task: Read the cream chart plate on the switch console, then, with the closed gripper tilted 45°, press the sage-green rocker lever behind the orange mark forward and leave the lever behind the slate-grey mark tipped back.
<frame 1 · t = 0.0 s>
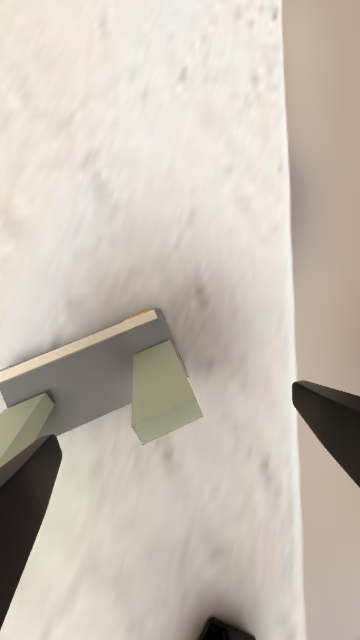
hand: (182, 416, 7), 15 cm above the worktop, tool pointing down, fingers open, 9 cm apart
switch console: (101, 371, 22), on the worktop
flip switch: (159, 378, 16), point 7 cm above the worktop, hinge at -20.0°
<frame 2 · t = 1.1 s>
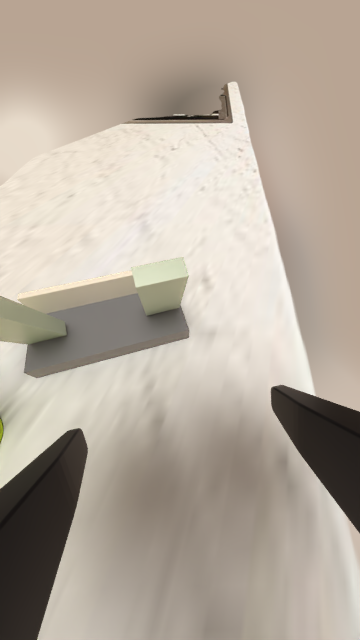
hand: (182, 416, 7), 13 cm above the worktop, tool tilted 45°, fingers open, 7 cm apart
switch console: (113, 327, 25), on the worktop
flip switch: (160, 292, 19), point 7 cm above the worktop, hinge at -20.0°
hold switch: (17, 325, 17), point 7 cm above the worktop, hinge at -20.0°
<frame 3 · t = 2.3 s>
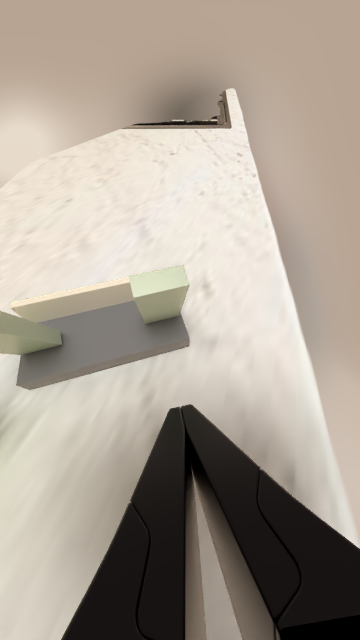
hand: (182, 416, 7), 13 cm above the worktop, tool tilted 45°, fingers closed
switch console: (110, 336, 24), on the worktop
flip switch: (160, 300, 18), point 7 cm above the worktop, hinge at -20.0°
hold switch: (8, 336, 16), point 7 cm above the worktop, hinge at -20.0°
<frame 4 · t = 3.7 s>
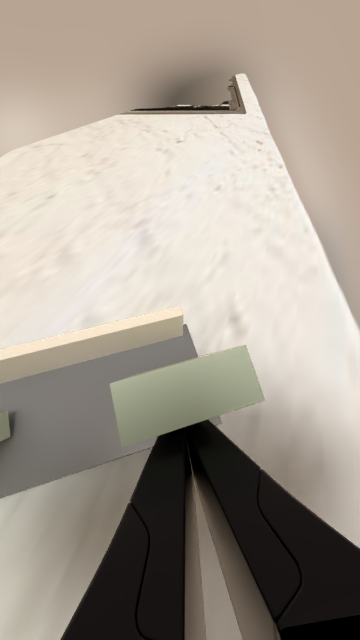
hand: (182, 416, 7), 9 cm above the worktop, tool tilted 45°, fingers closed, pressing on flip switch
switch console: (95, 405, 15), on the worktop
flip switch: (177, 380, 10), point 7 cm above the worktop, hinge at -19.0°, touching gripper
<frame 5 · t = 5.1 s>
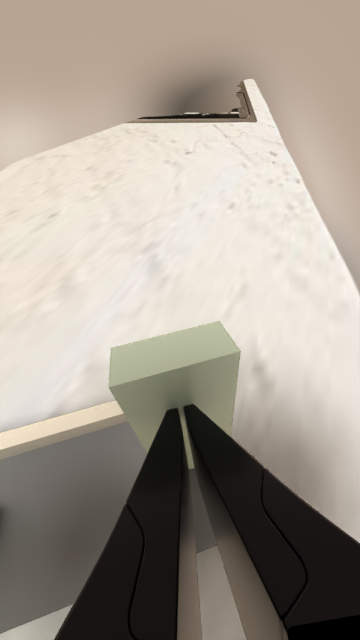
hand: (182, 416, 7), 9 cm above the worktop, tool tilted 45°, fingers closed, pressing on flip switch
switch console: (98, 484, 13), on the worktop
flip switch: (184, 416, 9), point 7 cm above the worktop, hinge at 21.0°, touching gripper
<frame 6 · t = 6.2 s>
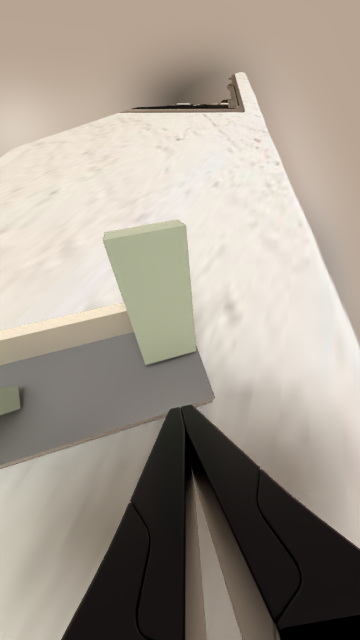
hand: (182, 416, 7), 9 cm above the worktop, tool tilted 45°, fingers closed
switch console: (97, 384, 17), on the worktop
flip switch: (159, 303, 13), point 7 cm above the worktop, hinge at 21.2°
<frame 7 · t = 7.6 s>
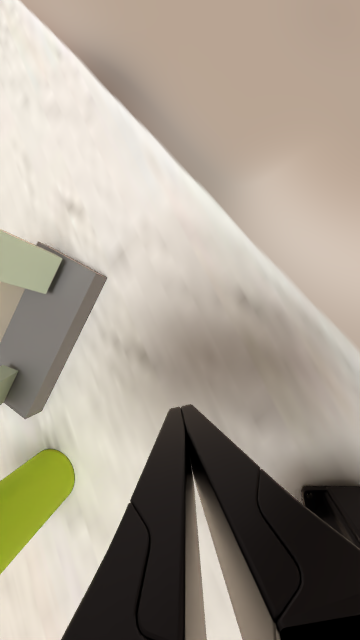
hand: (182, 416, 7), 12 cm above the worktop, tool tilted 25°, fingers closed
switch console: (47, 329, 23), on the worktop
soap dispenser: (50, 475, 23), on the worktop
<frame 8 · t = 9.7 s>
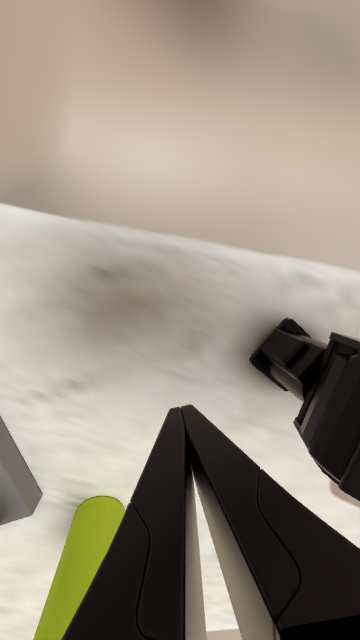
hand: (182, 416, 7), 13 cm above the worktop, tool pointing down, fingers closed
soap dispenser: (100, 515, 24), on the worktop
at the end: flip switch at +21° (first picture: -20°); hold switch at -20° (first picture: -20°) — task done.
